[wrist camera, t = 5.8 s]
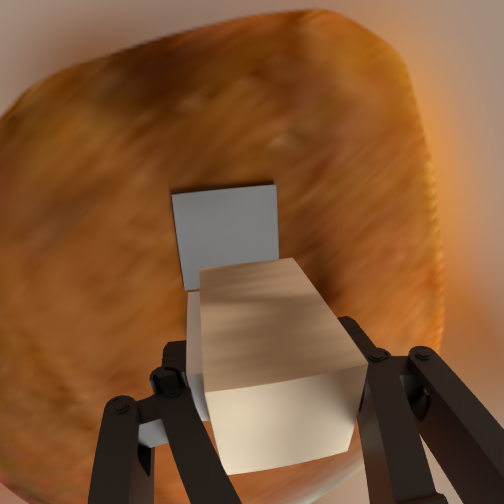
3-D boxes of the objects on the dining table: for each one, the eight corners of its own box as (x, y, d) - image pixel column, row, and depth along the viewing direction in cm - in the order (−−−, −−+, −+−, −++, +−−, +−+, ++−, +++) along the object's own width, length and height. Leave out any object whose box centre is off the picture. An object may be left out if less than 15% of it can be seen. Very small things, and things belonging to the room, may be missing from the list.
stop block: (210, 345, 19) (224, 475, 10) (199, 268, 17) (204, 392, 9) (292, 333, 19) (347, 450, 11) (292, 257, 18) (368, 363, 9)
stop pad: (185, 289, 30) (185, 290, 30) (172, 194, 27) (171, 195, 27) (278, 277, 31) (279, 279, 31) (275, 184, 28) (276, 184, 28)
